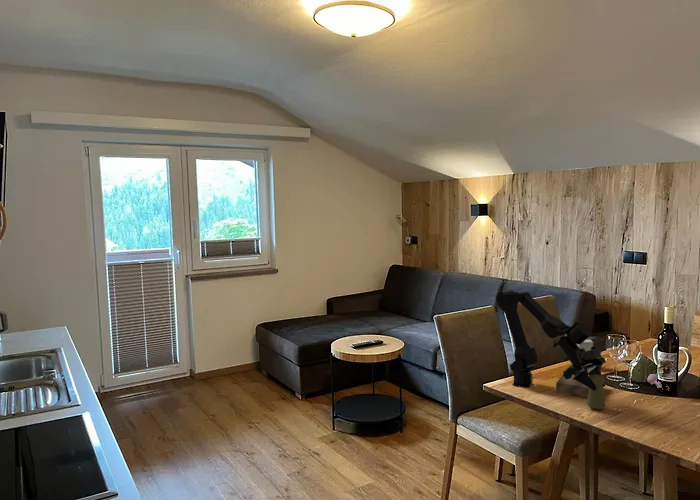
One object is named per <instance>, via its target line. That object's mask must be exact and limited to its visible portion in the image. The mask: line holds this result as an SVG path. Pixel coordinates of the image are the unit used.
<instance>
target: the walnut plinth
mask: <svg viewBox="0 0 700 500" xmlns="http://www.w3.org/2000/svg"><path fill="white" fill-rule="evenodd" d="M574 377H575V376H574V374H573V375H572V378H570V379H567V380H566V379H565V377H564V376H563V374H562V375H561V376H560V377H559V379H558V380H557V381H556V383H555V388H556V389H555V393H556V394H560V395H568V396H572V397H573V396H574V397H580V398H584V399H588V393H589V387H587V386H585V385H584V384H582V383H580V382H578V381H576V380H573V378H574Z"/></svg>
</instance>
